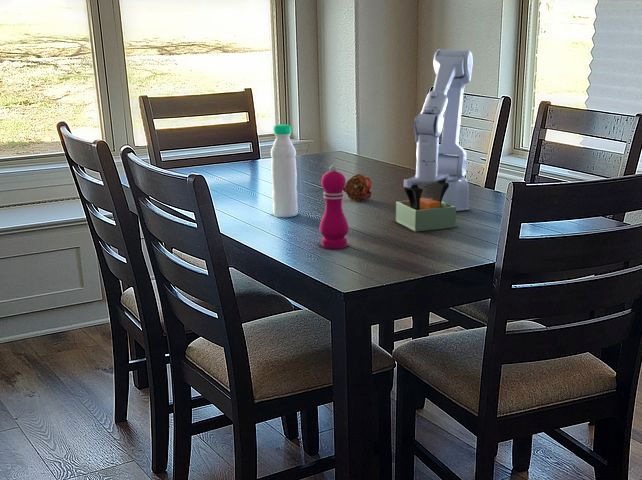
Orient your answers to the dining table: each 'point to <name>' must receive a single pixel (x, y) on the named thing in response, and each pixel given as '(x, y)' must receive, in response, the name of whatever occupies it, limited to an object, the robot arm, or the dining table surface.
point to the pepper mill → (333, 210)
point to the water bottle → (284, 173)
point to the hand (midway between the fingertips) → (425, 210)
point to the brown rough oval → (358, 187)
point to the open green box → (426, 216)
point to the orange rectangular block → (428, 204)
